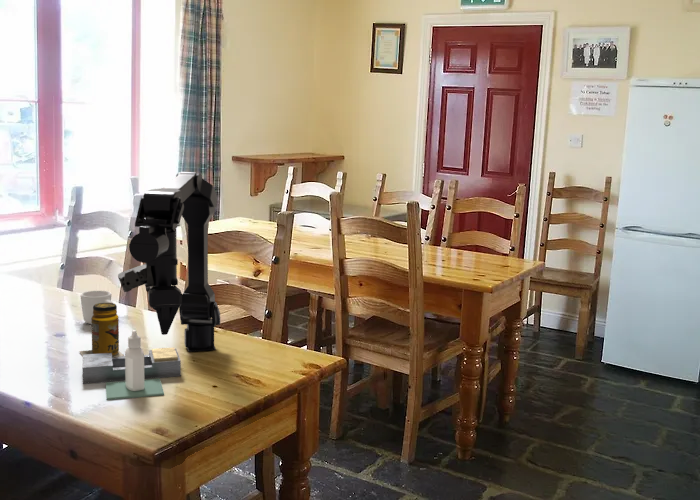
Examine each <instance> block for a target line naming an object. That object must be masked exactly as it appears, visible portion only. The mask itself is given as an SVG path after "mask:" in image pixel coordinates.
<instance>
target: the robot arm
mask: <svg viewBox="0 0 700 500" xmlns="http://www.w3.org/2000/svg"><path fill="white" fill-rule="evenodd" d="M217 203H218V195H217V192H216V189H215V188H214V185H213V184H212V183H210V182H208V181H207V180H205V179H203V177H202V175H201V174H200V173H198V172H196V171H180V172H177V173H176V175H175V177H174V178H173V179H172V180H171V181H169V182H168V183H167V184H165V185H164V186H163V187H161V188H153V189H149V190H146V191H144V194H143V196H141V198H140V200H139V205H138V210H137V214H136V218H135V222H134V227H135V228H138V233H137V234H135V235H134V236H132V238H131V239H130V242H129V244H128V250H129V253H130V255H131V256H132V258H133V259H134V260H135V261H137V262H139V263H143V264H141V265H138V266H135V267H132V268H130V269H127V270H125V271H121V272H119V273H118V274H117V277H118V281H119V284H120V285H121V288H122V290H123V292H124V293H128V292H130V291H132V290H133V289H135V288H138V287H141V286H145V291H146V292H147V299H148V301H147V302H148V305H149V307H150V308H152V310H154V311H156V317H157V321H158V324H159V327H160V332H161V333H160V334H161V335H164V336H165V335H166V336H167V335H168V333H169V331H170V329H171V327H172V324H173V322H174V320H175V317H176V315H177V313H178V312H179V318H180V325H186V328H184V332H183V333H184V341H183V342H184V346H185V348H187V351H188V352H191V353H193V352H206V351H216V349H217V348H216V346H215V327H216V326H220V325H221V312H220V308H219V306H218V303H217V301H216V294H215V292H214V289H212V287H211V285H210V284H209V277H208V276H209V275H208V274H209V265H208V264H209V254H208V253H209V252H208V251H209V248H208V247H209V246H208V245H209V242H208V240H209V239H208V237H209V235H208V234H209V233H208V231H209V230H208V228H209V227H208V226H209V222H210V221H211V219H212V217H213V216H214V214H215V209H216V207H217ZM182 218H183V220H184V221H185V223H186V224H187V277H188V280H187V281H188V282H187V286H186V288H185V290H184V291H183V293H182V291H181V289H180V288H179V287H178V284H179V282H178V281H179V280H178V276H177V274H178V273H177V272H178V271H177V270H178V269H177V267H178V264H179V263H178V261H179V260H178V257H177V256H178V255H177V254H178V253H177V228H178V225H180V223H181V219H182Z"/></svg>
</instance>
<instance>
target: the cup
mask: <svg viewBox="0 0 700 500" xmlns="http://www.w3.org/2000/svg"><path fill="white" fill-rule="evenodd" d="M79 295H80V305H81V311H82V318H83V321H84V323H86V324H89V325H92V323H91V318H92V316H93V306H94V305H95V304H98V303H114V302H113V301H112V292H111V291H109V290H108V291H107V290H88V291H84V292H81V293H80V294H79Z"/></svg>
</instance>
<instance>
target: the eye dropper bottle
mask: <svg viewBox="0 0 700 500" xmlns="http://www.w3.org/2000/svg"><path fill="white" fill-rule="evenodd" d="M141 338H142V337H141V336H140V335H138V334H137V330H135V329H134V330H132V331H131V336H130V335H129V336H128V338H127V341H128V342H127V343H128V344H127V348H126V349H125V351H124V356H125V383H126V388H127V389H129V390H131V391H140V390H143V389H144V380H145V379H144V355H145V353H144V350H143V348H141V347H142V344H141V341H142V340H141Z"/></svg>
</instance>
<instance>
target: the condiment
mask: <svg viewBox="0 0 700 500" xmlns="http://www.w3.org/2000/svg"><path fill="white" fill-rule="evenodd" d="M117 307H118V306H117V304H116V303H114V302H113V303H98V304H95V305H94V306H93V316H92V318H91V323H92V324H91V349H90V350H88V349H87V350H79V351H78V352H79V354H80V355H81V356H82V357H83V355H84V354H99V353H112V357H120V356H125V354H123V353H122V352H121V351H120V344H119V343H120V339H119V338H120V335H119V334H120V331H119V329H120V328H119V327H120V326H119V323H120V322H119V321H120V320H119V315H118V314H117V313H118V311H117V309H118V308H117Z"/></svg>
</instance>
